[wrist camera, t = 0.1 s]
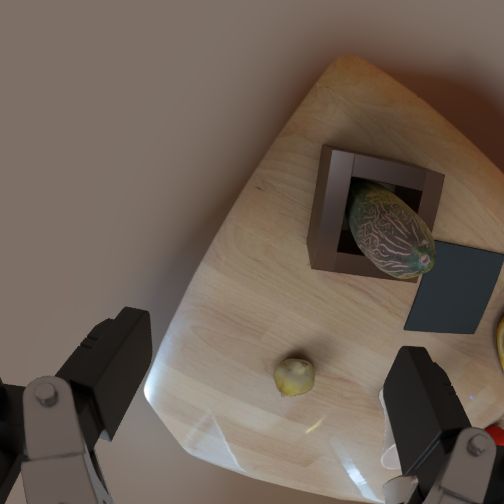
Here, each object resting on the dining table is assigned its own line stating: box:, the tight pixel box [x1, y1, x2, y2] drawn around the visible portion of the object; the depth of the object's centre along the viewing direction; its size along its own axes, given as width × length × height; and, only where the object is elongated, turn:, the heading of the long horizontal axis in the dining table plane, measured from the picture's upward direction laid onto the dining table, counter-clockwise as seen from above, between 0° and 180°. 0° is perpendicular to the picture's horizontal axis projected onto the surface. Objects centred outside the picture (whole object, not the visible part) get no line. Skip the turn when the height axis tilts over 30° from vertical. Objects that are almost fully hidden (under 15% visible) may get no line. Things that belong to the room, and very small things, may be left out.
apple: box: [484, 426, 504, 446], centre depth 49 cm, size 9×9×8 cm
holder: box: [307, 145, 445, 283], centre depth 34 cm, size 12×12×8 cm
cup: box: [379, 388, 401, 470], centre depth 42 cm, size 10×10×14 cm
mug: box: [384, 476, 418, 504], centre depth 56 cm, size 12×9×9 cm
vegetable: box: [345, 182, 436, 279], centre depth 28 cm, size 6×6×20 cm
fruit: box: [274, 359, 315, 397], centre depth 45 cm, size 6×6×10 cm
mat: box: [404, 240, 504, 334], centre depth 40 cm, size 14×14×1 cm
